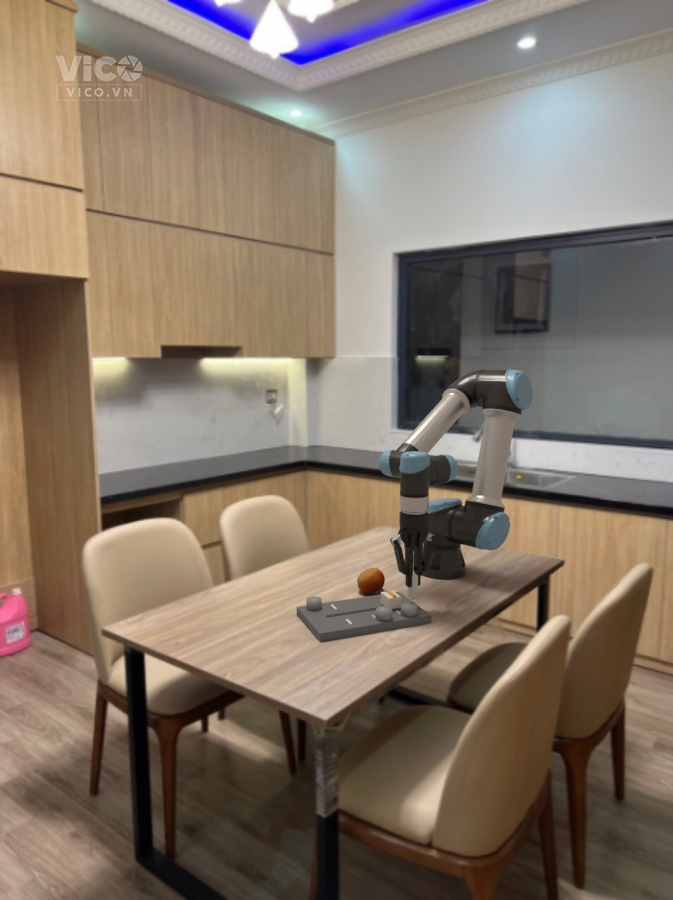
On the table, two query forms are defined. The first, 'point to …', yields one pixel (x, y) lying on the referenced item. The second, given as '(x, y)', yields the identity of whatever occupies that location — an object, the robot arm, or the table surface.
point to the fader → (390, 599)
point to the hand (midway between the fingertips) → (412, 597)
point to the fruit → (371, 581)
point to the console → (358, 616)
